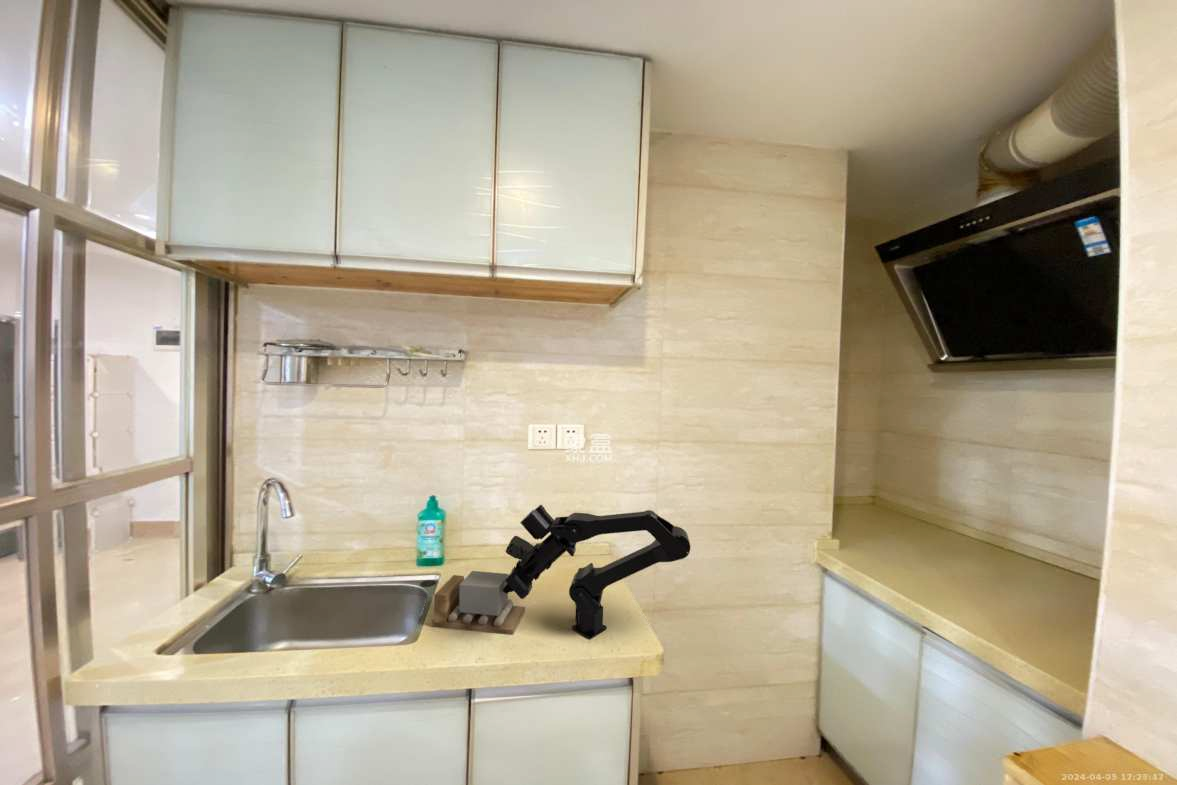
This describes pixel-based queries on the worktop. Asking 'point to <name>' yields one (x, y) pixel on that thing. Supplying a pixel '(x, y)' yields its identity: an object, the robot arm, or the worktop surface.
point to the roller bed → (489, 624)
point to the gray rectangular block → (483, 593)
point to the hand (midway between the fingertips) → (504, 591)
